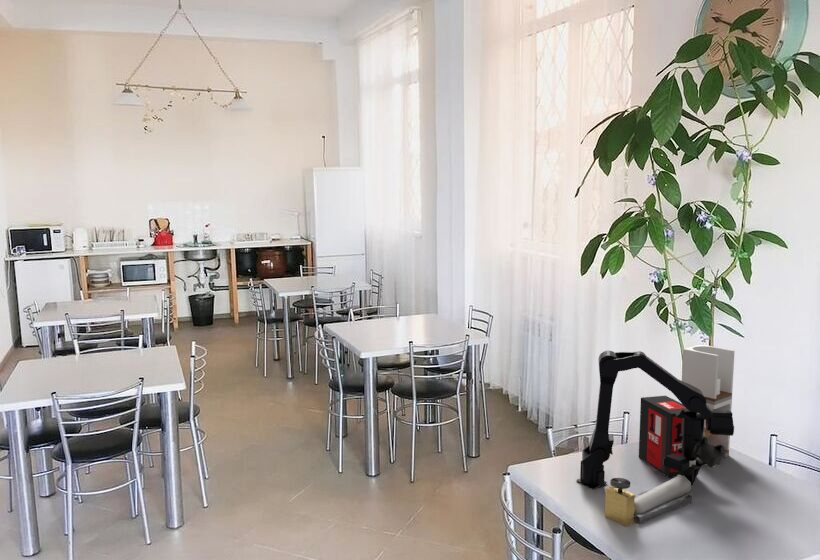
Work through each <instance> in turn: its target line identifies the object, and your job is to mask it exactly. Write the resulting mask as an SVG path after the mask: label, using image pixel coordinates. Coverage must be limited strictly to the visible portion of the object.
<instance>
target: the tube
mask: <svg viewBox="0 0 820 560" xmlns="http://www.w3.org/2000/svg"><path fill="white" fill-rule="evenodd" d="M691 487H692V486H691V482H690V481H689V480H688V479H687V478H686V477H685V476H682V475H677V476H676V477H672V478H670V479H669V480H667V481H665V482H663V483H661V484H660V485H657V486H656V487H654V489H653V488H651V489H652V490H651V489H649V490H650V491H648V490H647V491H648V492H646V493H644V494H642V495H640V496H638V497H636V498H635V501H634V504H635V507H636V513H635V516H634V518H636V515H638V514H641V513H643V512H646V511H648V510H651V509H654V508H656V507H659V506H661V505H664V504H666V503H669V502H671V501H674V500H676V499H679V498H681V496H682V497H683V496H685V495H688V493H689V492H690V491H691V490H692V488H691Z"/></svg>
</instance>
